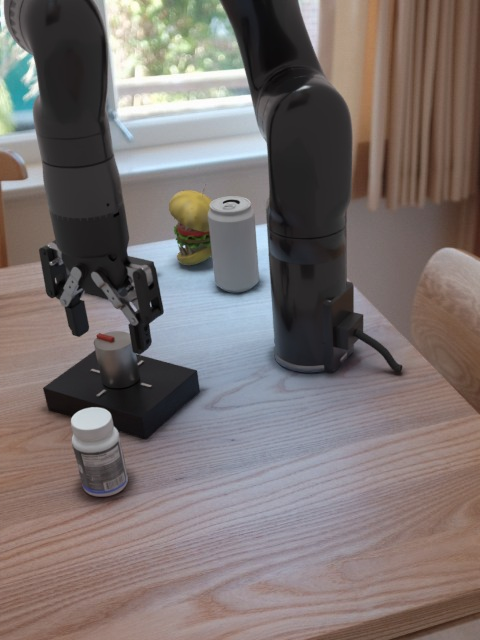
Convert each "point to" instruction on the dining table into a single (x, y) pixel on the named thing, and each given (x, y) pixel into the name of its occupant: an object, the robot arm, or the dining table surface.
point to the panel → (125, 394)
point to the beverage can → (233, 243)
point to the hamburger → (191, 226)
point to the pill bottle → (98, 452)
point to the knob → (116, 359)
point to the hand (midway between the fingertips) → (111, 342)
